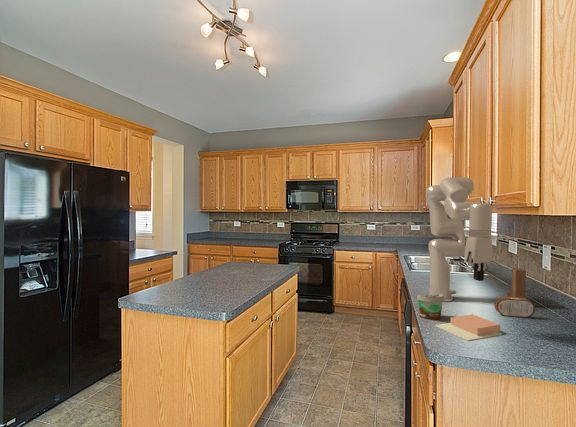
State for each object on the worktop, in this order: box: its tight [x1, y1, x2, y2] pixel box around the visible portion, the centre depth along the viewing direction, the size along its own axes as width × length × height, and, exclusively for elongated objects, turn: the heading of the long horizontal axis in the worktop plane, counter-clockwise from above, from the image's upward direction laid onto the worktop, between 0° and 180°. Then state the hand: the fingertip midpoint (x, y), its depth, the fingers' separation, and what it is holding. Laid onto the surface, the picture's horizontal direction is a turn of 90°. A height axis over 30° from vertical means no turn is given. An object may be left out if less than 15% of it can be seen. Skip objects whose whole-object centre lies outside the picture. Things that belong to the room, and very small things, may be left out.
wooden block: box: [506, 268, 527, 298], centre depth 156 cm, size 9×4×18 cm, turn 166°
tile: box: [450, 313, 501, 336], centre depth 123 cm, size 3×12×12 cm
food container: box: [416, 293, 444, 321], centre depth 135 cm, size 12×6×10 cm, turn 105°
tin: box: [493, 295, 536, 319], centre depth 138 cm, size 15×3×8 cm, turn 75°
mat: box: [434, 322, 503, 342], centre depth 122 cm, size 18×15×1 cm
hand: (478, 279), depth 124 cm, fingers closed
